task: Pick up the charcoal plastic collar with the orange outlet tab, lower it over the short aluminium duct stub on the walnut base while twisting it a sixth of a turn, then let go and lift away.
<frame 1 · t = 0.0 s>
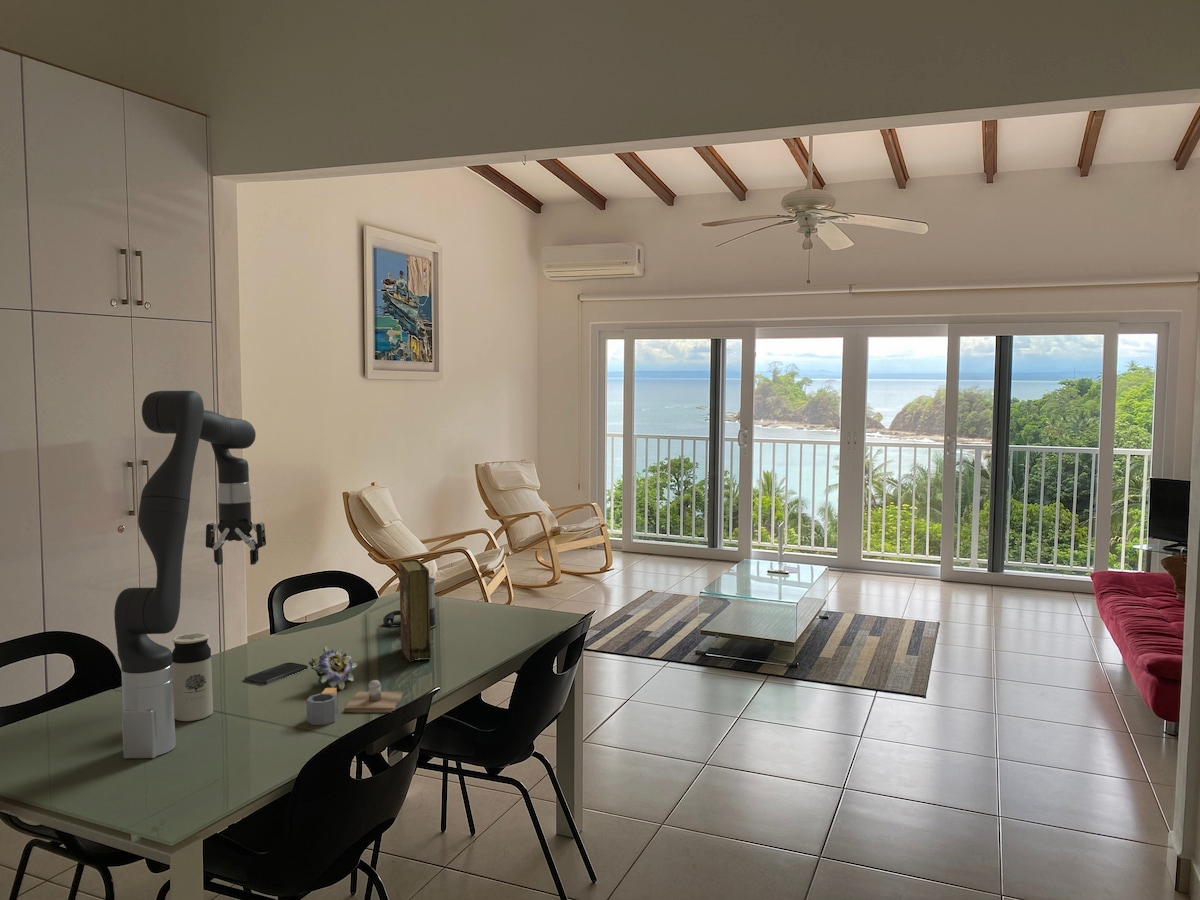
hand: (236, 564, 223), 29 cm above the table, tool pointing down, fingers open, 8 cm apart
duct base: (375, 703, 206), on the table
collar: (322, 720, 196), on the table
phone: (276, 676, 228), on the table
book: (415, 655, 245), on the table
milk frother: (409, 626, 275), on the table
travel mug: (193, 716, 199), on the table
passion flower: (332, 686, 219), on the table
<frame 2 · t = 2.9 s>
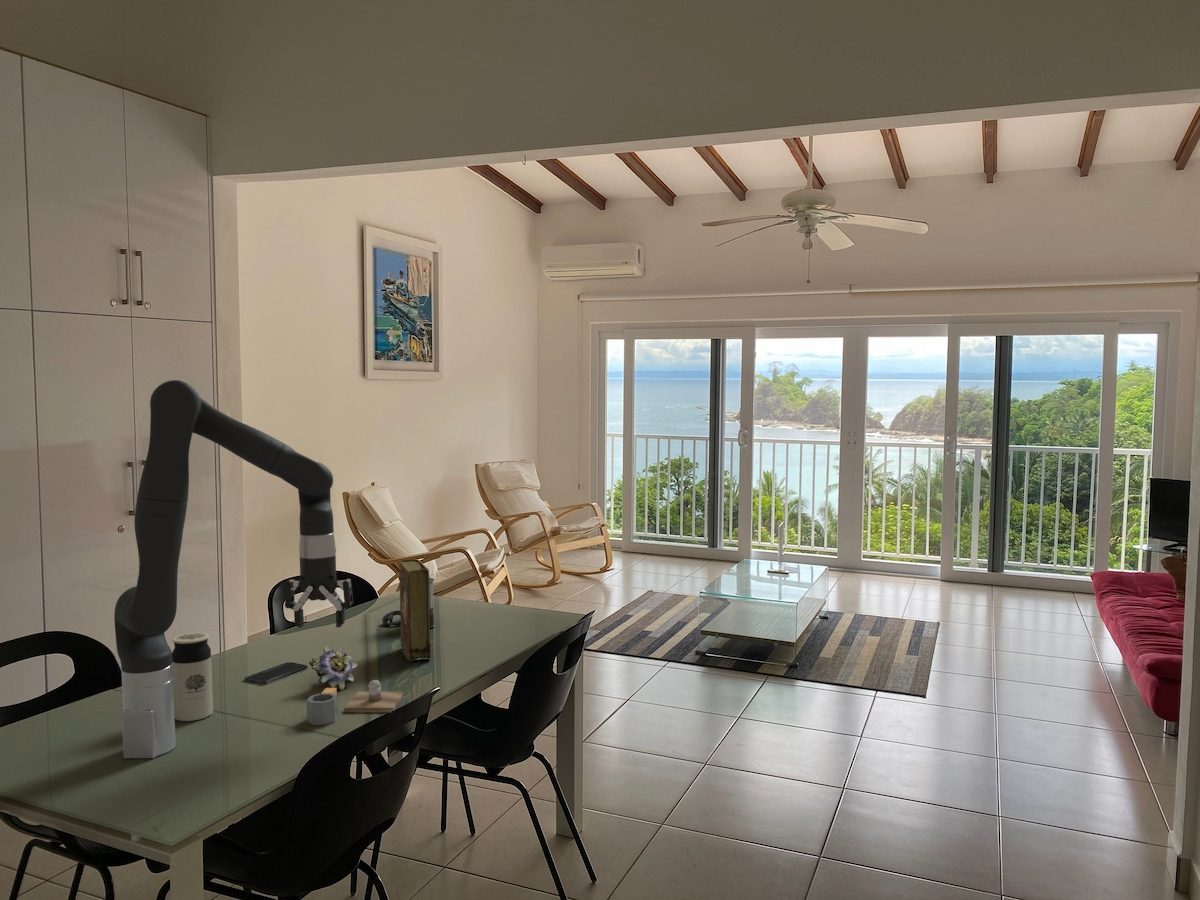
hand: (320, 626, 195), 21 cm above the table, tool pointing down, fingers open, 8 cm apart
nothing on the table moved.
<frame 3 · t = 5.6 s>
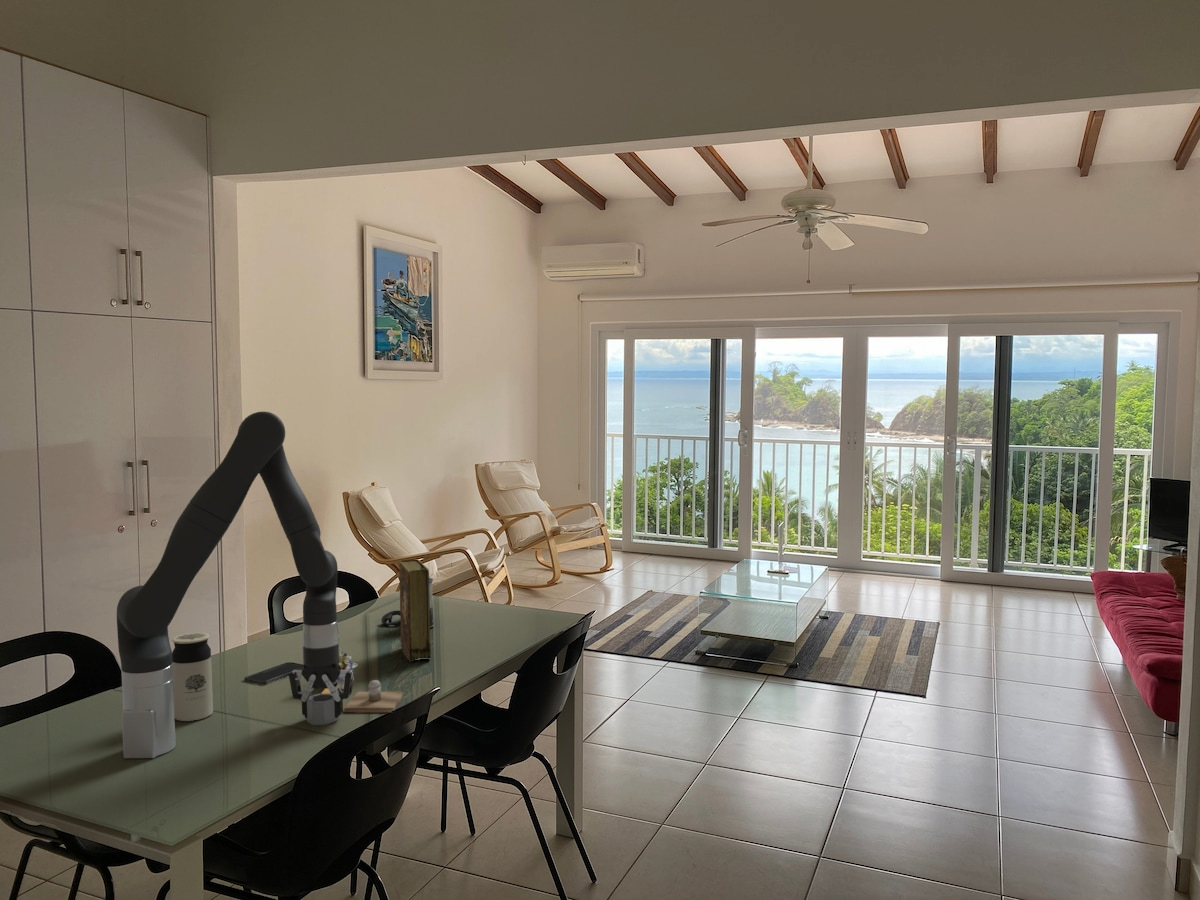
hand: (322, 716, 196), 1 cm above the table, tool pointing down, fingers closed on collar, 6 cm apart
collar: (322, 720, 196), on the table, touching gripper
everything else where it was.
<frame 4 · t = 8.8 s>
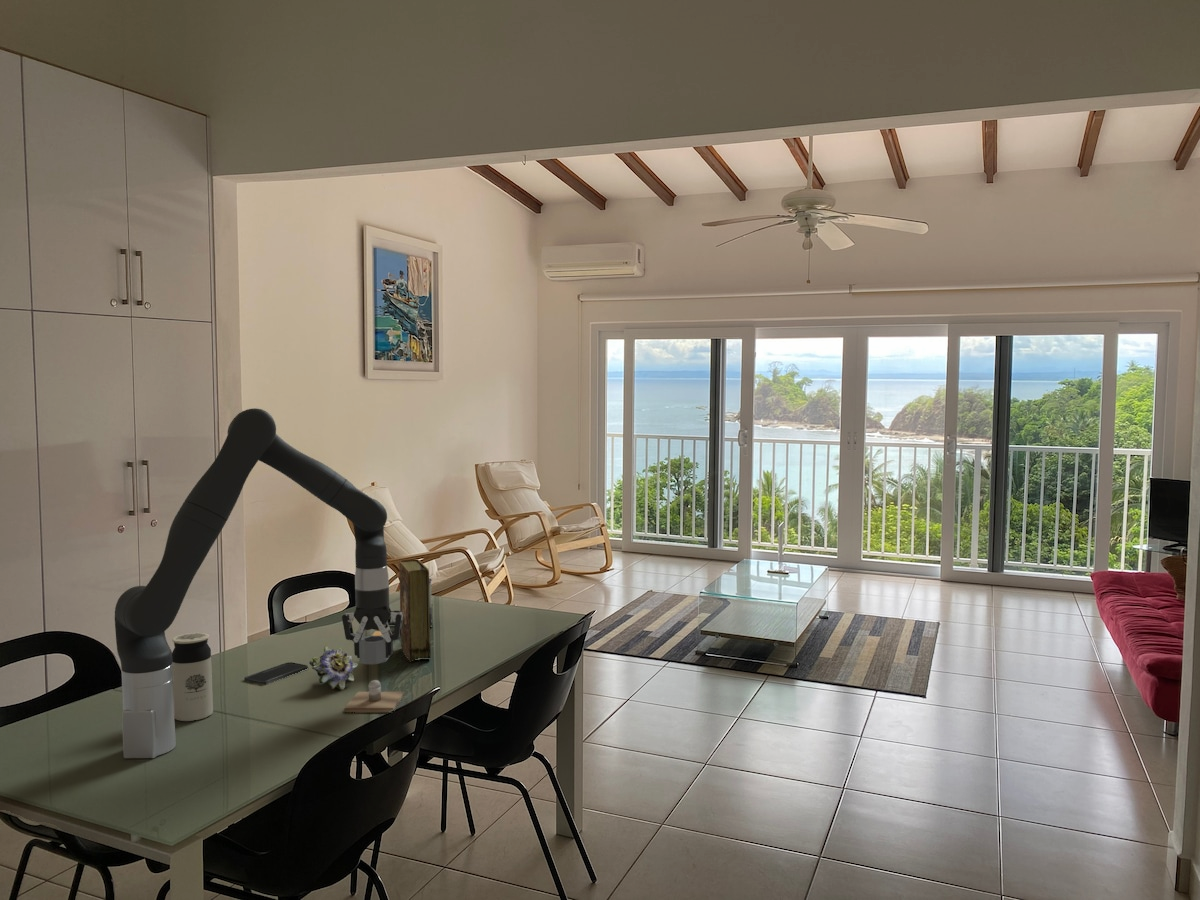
hand: (374, 656, 205), 11 cm above the table, tool pointing down, fingers closed on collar, 6 cm apart
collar: (374, 660, 205), point 10 cm above the table, touching gripper
everything else where it was.
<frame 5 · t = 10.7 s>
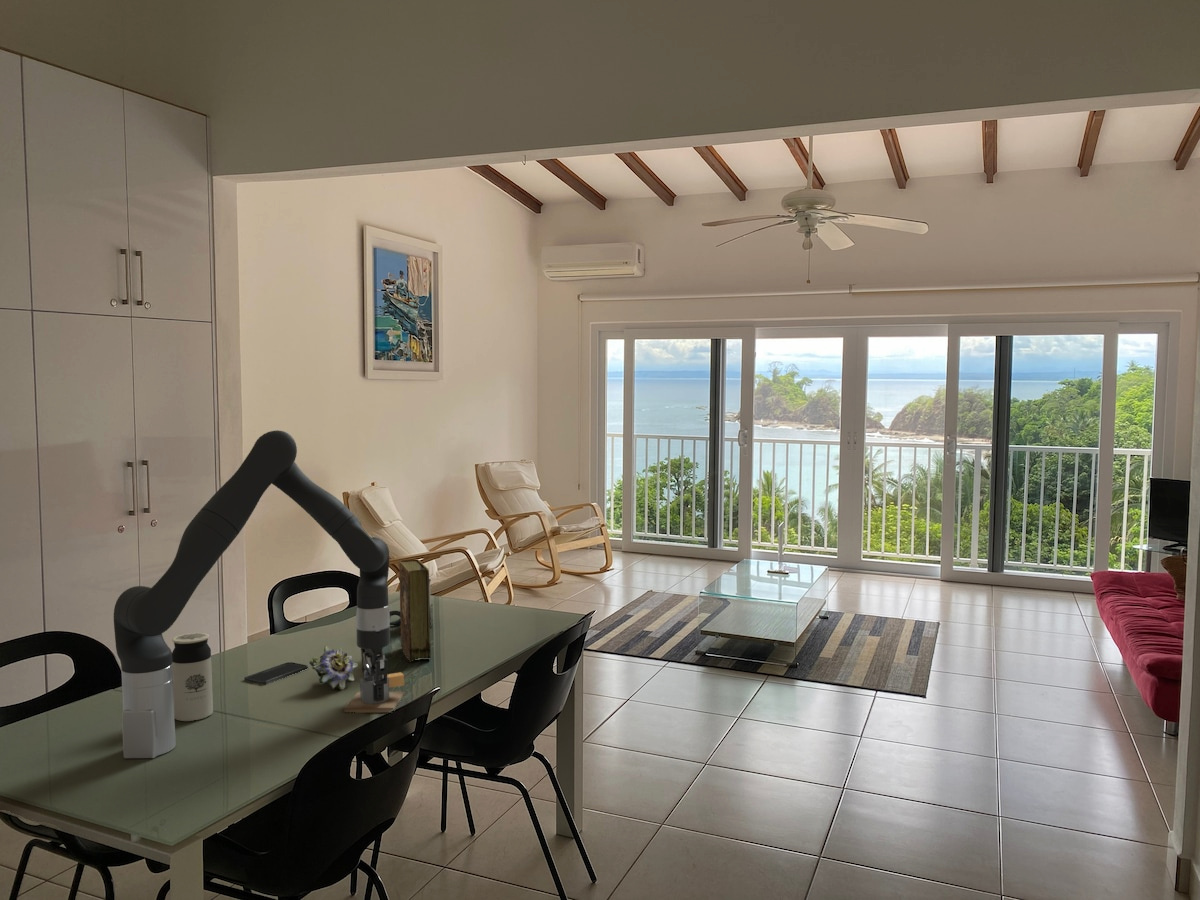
hand: (374, 696, 206), 2 cm above the table, tool pointing down, fingers closed on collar, 6 cm apart
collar: (375, 699, 206), point 1 cm above the table, touching gripper
when the fingers open (2 cm above the table, at t = 11.9 s): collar stays where it is, resting on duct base.
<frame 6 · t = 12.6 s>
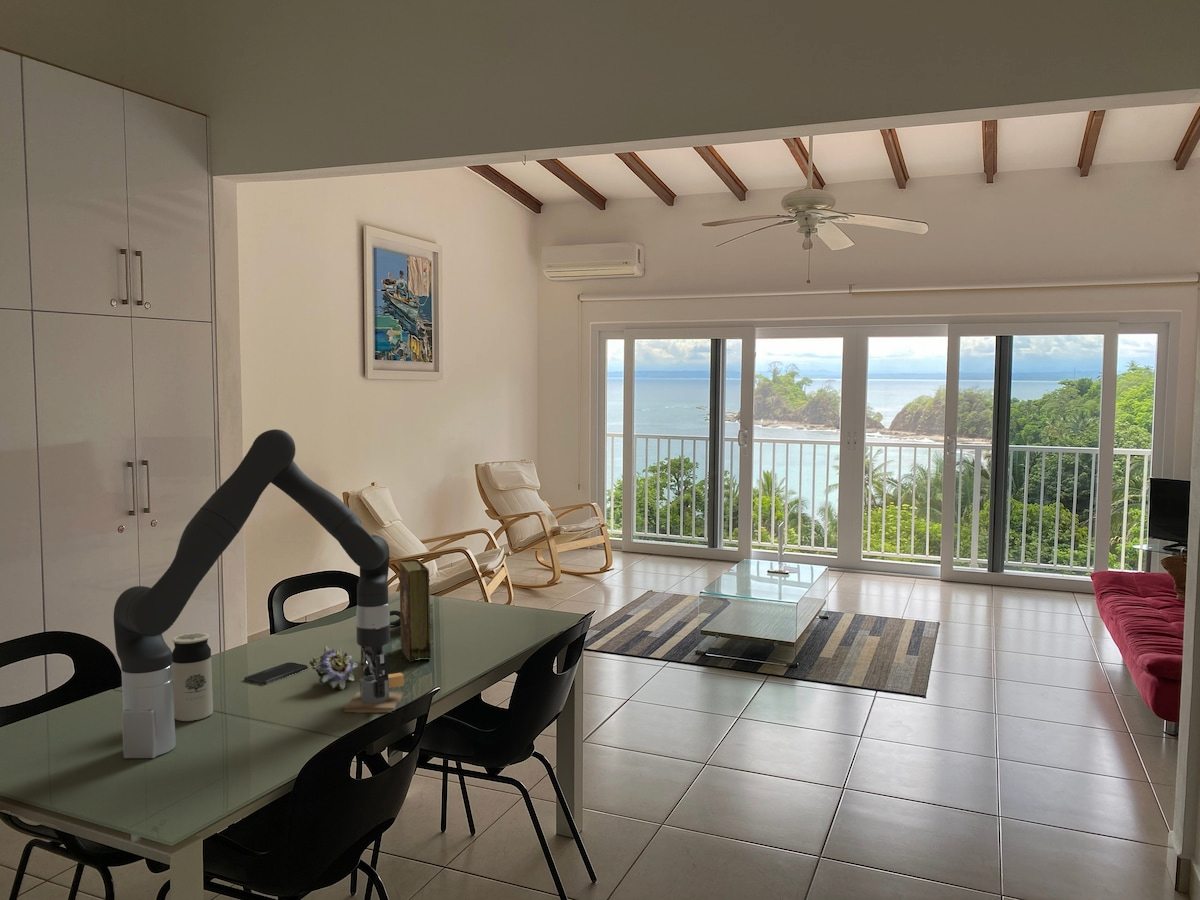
hand: (374, 691, 206), 3 cm above the table, tool pointing down, fingers open, 8 cm apart
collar: (374, 699, 206), point 1 cm above the table, touching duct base
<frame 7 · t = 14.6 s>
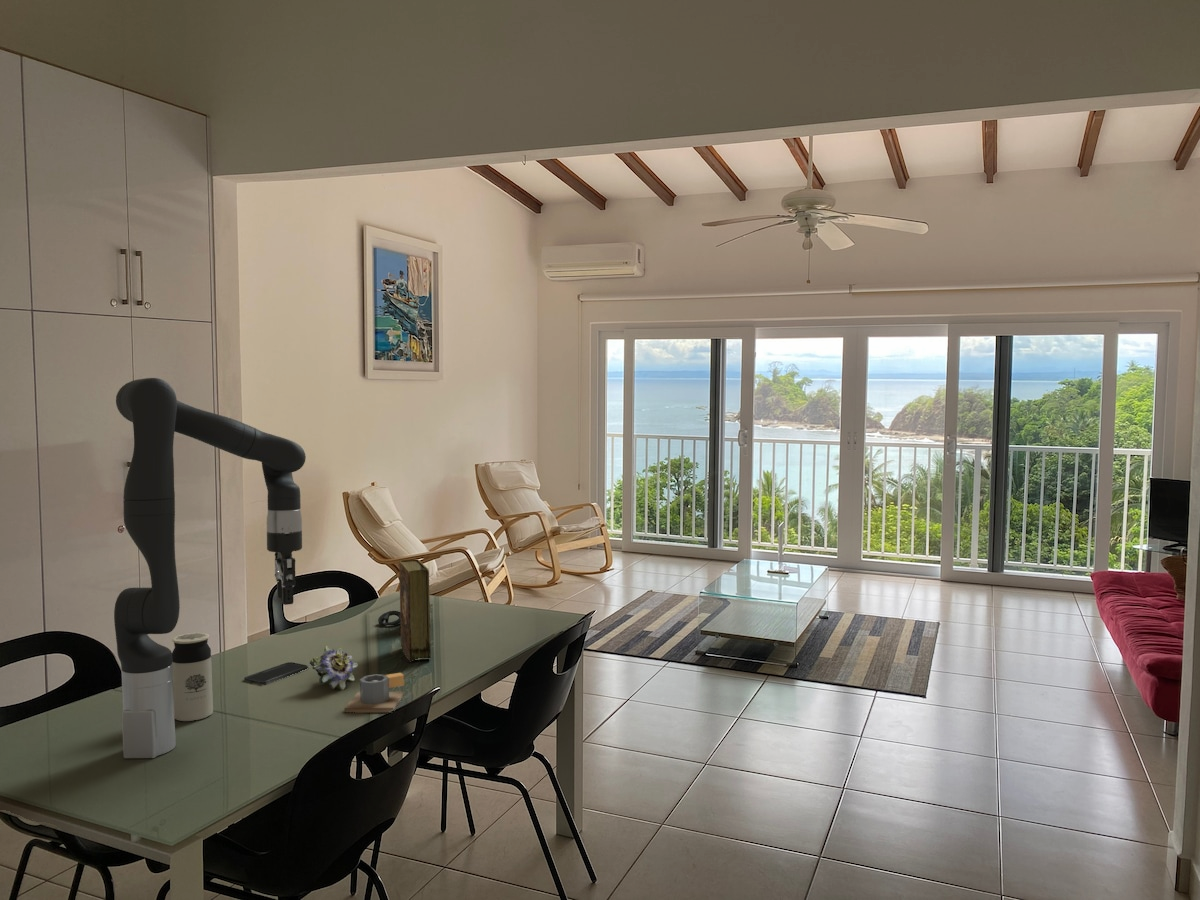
hand: (285, 600, 201), 25 cm above the table, tool pointing down, fingers open, 8 cm apart
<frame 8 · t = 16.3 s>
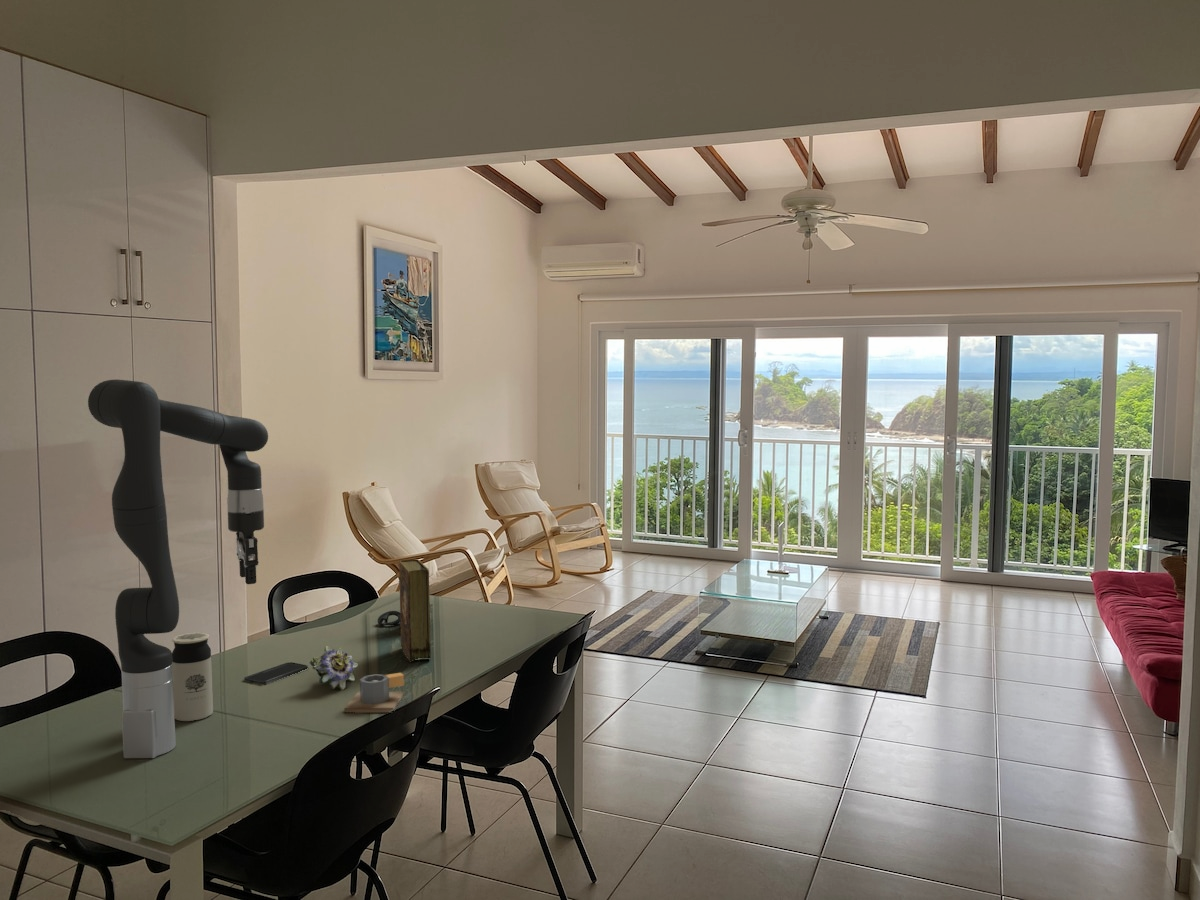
hand: (248, 580, 200), 30 cm above the table, tool pointing down, fingers open, 8 cm apart
at the end: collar 0.0 cm off-centre on the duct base, point 1.0 cm above the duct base's base; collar tilted 0°; the gripper is holding nothing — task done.
